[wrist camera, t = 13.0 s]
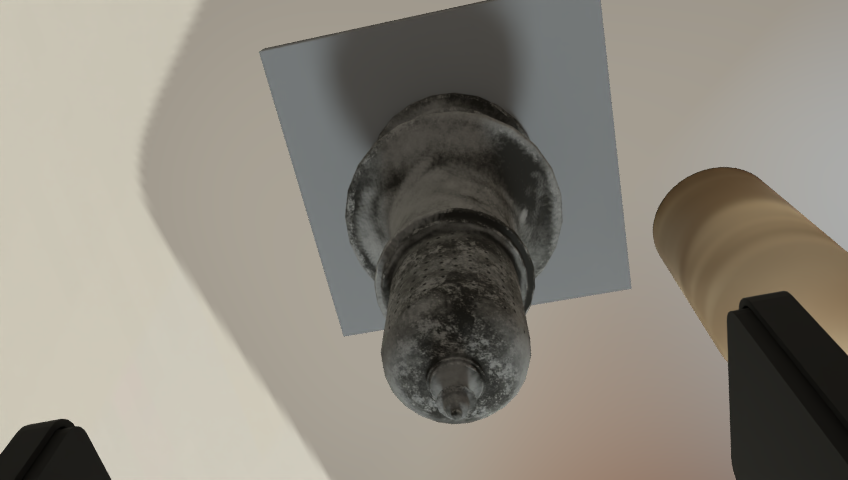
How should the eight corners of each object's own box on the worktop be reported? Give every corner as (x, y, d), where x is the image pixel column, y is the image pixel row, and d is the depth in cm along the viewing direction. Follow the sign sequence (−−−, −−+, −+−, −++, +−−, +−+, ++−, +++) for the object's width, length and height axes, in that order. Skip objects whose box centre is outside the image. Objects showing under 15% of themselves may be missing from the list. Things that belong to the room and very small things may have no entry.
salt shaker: (341, 234, 24) (248, 508, 13) (385, 59, 21) (317, 209, 10) (512, 279, 24) (565, 581, 13) (573, 113, 22) (701, 311, 11)
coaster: (263, 48, 22) (259, 52, 21) (594, -23, 21) (598, -22, 20) (345, 327, 26) (343, 336, 25) (627, 280, 25) (631, 288, 24)
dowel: (648, 179, 23) (709, 260, 18) (776, 156, 23) (880, 232, 17) (657, 287, 25) (716, 392, 19) (777, 267, 24) (873, 369, 19)
